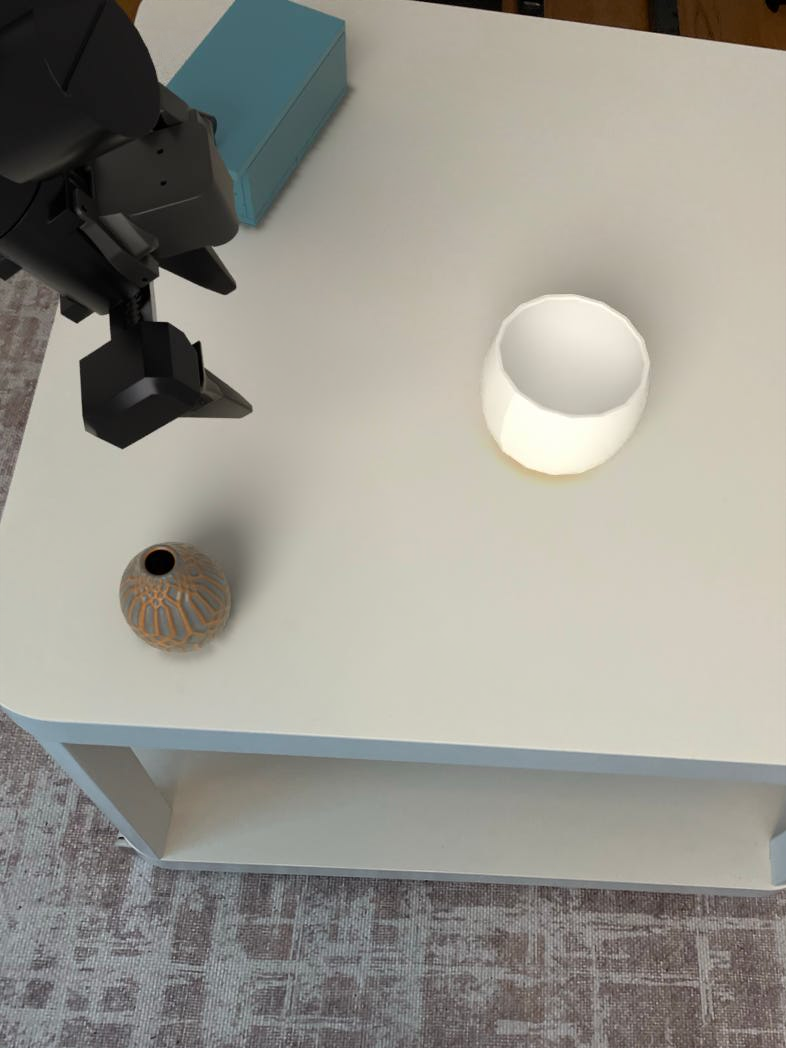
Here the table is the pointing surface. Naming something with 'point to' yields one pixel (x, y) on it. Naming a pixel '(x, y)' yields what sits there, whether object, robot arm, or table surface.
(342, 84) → the teal rectangular box
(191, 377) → the robot arm
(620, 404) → the cup
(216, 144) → the lid
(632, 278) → the table surface
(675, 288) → the table surface
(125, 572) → the vase
